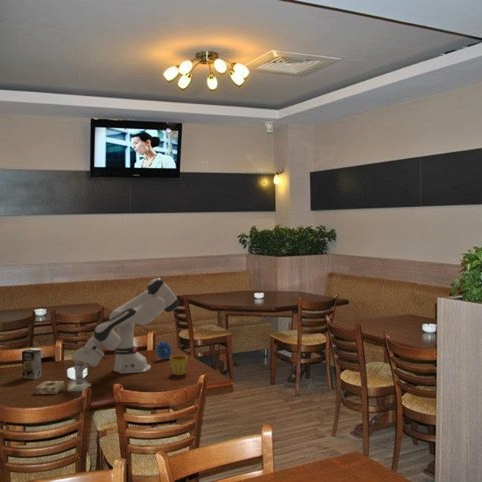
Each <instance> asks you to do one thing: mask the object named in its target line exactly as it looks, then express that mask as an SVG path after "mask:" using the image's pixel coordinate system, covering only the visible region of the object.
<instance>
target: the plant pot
mask: <svg viewBox="0 0 482 482" xmlns="http://www.w3.org/2000/svg"><path fill="white" fill-rule="evenodd" d="M169 364H170V366H171V369H172V374H173V375H174V376H182V375H185V373H186V367H187V364H188V356H186V355H179V354H178V355H173V356H170V357H169Z"/></svg>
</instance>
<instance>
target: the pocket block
mask: <svg viewBox="0 0 482 482" xmlns="http://www.w3.org/2000/svg"><path fill="white" fill-rule="evenodd" d="M64 388H65V380H50V381H49V380H44V381H42V382H41V383H40V384H38V385H37V386H36V387H35V394H36V395H53V394H54V395H57V394H59V392H61V391H62V390H63V389H64Z"/></svg>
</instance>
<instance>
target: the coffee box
mask: <svg viewBox="0 0 482 482" xmlns="http://www.w3.org/2000/svg"><path fill="white" fill-rule="evenodd" d="M21 366H22V378H23V379H29V380H36V379H37V380H38V379H39V378H41V377H42V351H41V350H39V349H31V348H29V349H25V350H22V351H21Z"/></svg>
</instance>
